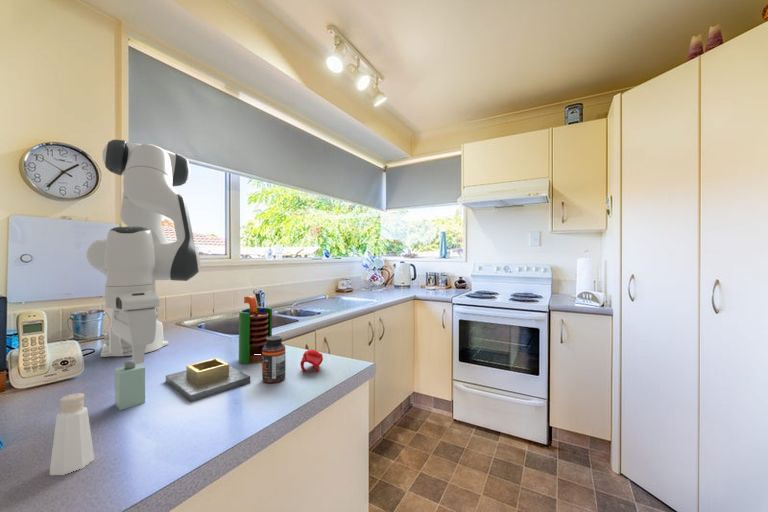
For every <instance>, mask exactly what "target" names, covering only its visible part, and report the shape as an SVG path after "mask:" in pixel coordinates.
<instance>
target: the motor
mask: <svg viewBox="0 0 768 512" xmlns="http://www.w3.org/2000/svg"><path fill="white" fill-rule="evenodd" d="M256 299H257V298H256V297H255V296H253V295H249V296H244V297H243V300H244V301H243V303H244V304H248V305H249V307H248V308H244V309H240V310H239V312H238V313H239V314H238V319H239V320H238V362H239V363H241V364H243V365H249V364H250V363H249V362H256V363H259V362H258V361H262V349H263V347H264V346H265V345H266V338H267V337H270V336H273V308H271V307H258V306H257V304H258V303H257V300H256ZM254 354H261V355H254Z"/></svg>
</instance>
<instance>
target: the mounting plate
mask: <svg viewBox="0 0 768 512" xmlns="http://www.w3.org/2000/svg"><path fill="white" fill-rule="evenodd" d="M185 367H186V369H185V370H182V371H178V372H174V373H170V374H168V375H167V374H166V375H165V383H167V384H168V385H170V386H171V387H172V388H173V389H174V390H176V391H177V392H178V393H180V395H182V396H184V398H186V399H187V400H188V401H190V403H191V402H194V401H197V400H201V399H204V398H207V397H210V396H213V395H216V394H219V393H222V392H225V391H228V390H230V389H234V388H237V386H238V387H241V386H242V385H243V386H244V385H246V384H249V383H251V376H250V375H248V374H246V373H244V372H242V371H240V370H238V369H236V368H234V367H232V366H231V365H230V364H229V363H228V362H226V361H224V360H222V359H220V358H218V357H215V358H210V359H208V360H207V359H206V360H203V361H200V362H195V363H190V364H187V365H186V366H185Z"/></svg>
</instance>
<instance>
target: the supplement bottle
mask: <svg viewBox="0 0 768 512" xmlns="http://www.w3.org/2000/svg"><path fill="white" fill-rule="evenodd" d="M285 378H286V345H285V344H284V343H283V340H282V336H280V335H272V336H270V337H267V338H266V345H265V346H264V347H263V349H262V362H261V379H262V382H264V383H267V384H273V383H279V382H281V381H283V380H285Z"/></svg>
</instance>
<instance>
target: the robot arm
mask: <svg viewBox="0 0 768 512" xmlns="http://www.w3.org/2000/svg"><path fill="white" fill-rule="evenodd" d="M101 156H102V161H103V163H104V166H105V168H106V169H107V170H108V171H109V172H111V173H113V174H115V175H118V176H123V180H122V182H123V183H122V185H123V192H122V200H121V208H120V215H119V217H120V220H121V221H122V223H123V224H125V226H118V227H117V226H116V227H113V228H111V229H109V230H108V231H107V235H106V238H104V239H96V240H95V241H93V242H92V243H91V244H90V245H89V246H88V247H87V251H86V259H87V262H88V263H89V265H90V266H91V267H93V268H94V269H95V270H97V271H99V272H100V273H102V274H103V275H104V276H105V277H106V281H105V283H104V285H105V286H104V300H105V302H104V303H105V304H104V305H105V308H107V309H112V312H111V313H112V317H111V318H112V319H111V320H112V321H111V328H110V330H108V332H106V333H104V334H103V341H106V342H105V343H104V344H103V346H102V348H101V351H100V356H99V357H100V358H106V357H127V356H128V357H129V356H130V357H131V360H132V362H133V363H134V364H143V363H144V362H145V354H147V353H150V352H153V351H157V350H159V349H161V348H162V347H164V346H167V345H169V341H168V340H164V329H163V328H164V327H163V322H161V321H159V320H158V315H159V312H158V307H160V304H161V303H160V297H159V296H158V294H157V290H156V281H175V282H176V281H180V282H187V281H189V280H191V279H192V278H194V277H195V276H196V275H197V274H199V270H200V269H201V258H200V257H201V256H200V254H199V251H198V249H197V246H196V244H195V240H194V233H193V229H192V228H193V227H192V224H191V219H190V214H189V211H188V207H187V202H186V199H185V198H184V196H183V195H182V194H181V193H178V192H177V191H176V190H175V189H174V187H180V186H181V187H182V186H183V185H184V184H186V182H188V180H189V178H190V175H191V167H190V162H189V160H188V159H187V157H185V156H183V155H181V154H178V153H177V152H176V153H173V152H171V151H169V150H166V149H163V148H161V147H159V146H158V145H155V144H150V143H142V144H141V143H136V142H131V141H130V142H129V141H126V139H125V140H124V139H111V140H110V141H108V142H107V144H105V146H104V148H103V150H102V155H101ZM163 216H165V217H167V218H168V219H170V220H171V221H172V222H173V224H174V230H175V231H174V232H175V236H176V237H175V238H176V241H174V242H170V240H169V239H168V238H167V237H166V236H165V234H164V231H163V227H162V217H163Z"/></svg>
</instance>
